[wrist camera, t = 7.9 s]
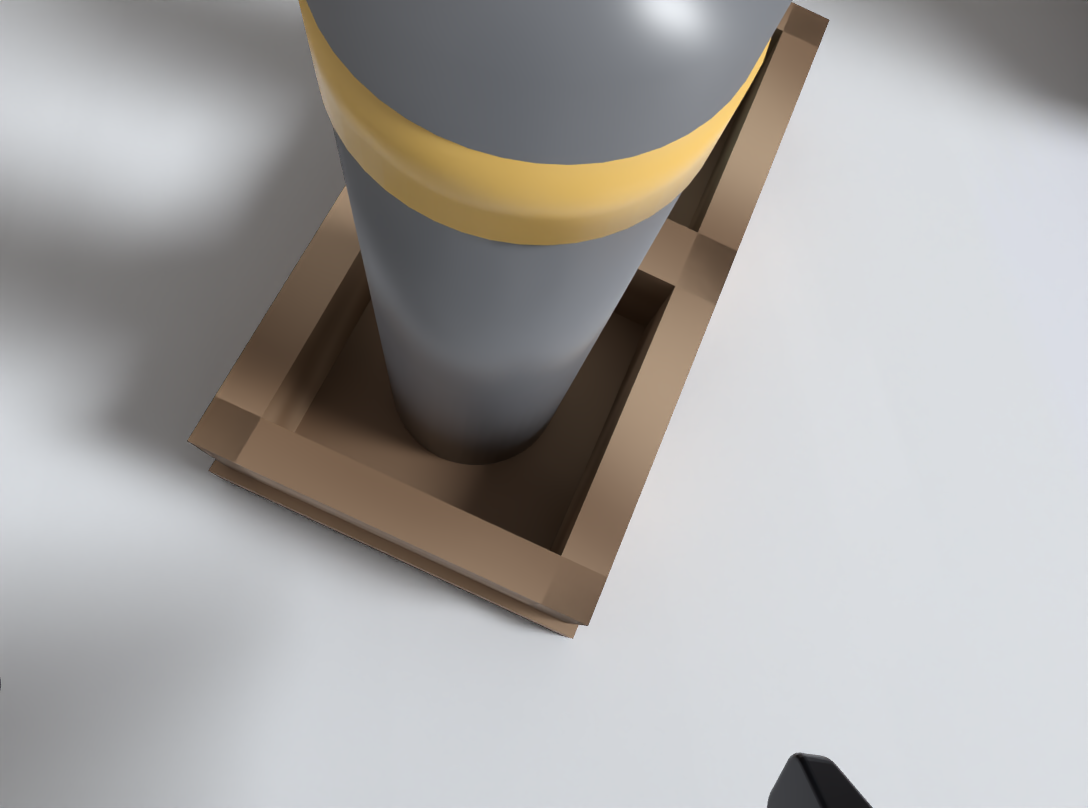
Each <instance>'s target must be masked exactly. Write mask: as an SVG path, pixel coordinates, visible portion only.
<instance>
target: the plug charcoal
mask: <svg viewBox="0 0 1088 808" xmlns="http://www.w3.org/2000/svg"><path fill="white" fill-rule="evenodd" d="M791 2H792V0H299V4H300V9H301V13H302V17H303V22H304V26H305V30H306V34H307V39H308V43H309V47H310V52H311V56H312V60H313V64H314V69H315V73H316V77H317V81H318V85H319V89H320V93H321V97H322V100H323V104H324V106H325V109H326V111H327V113H328V116H329V118H330V120H331V123H332V125H333V129H334V133H335V138H336V142H337V147H338V151H339V156H340V160H341V165H342V169H343V174H344V178H345V183H346V187H347V192H348V196H349V200H350V205H351V209H352V214H353V218H354V223H355V227H356V232H357V236H358V241H359V245H360V250H361V254H362V259H363V263H364V268H365V272H366V277H367V281H368V286H369V290H370V295H371V299H372V304H373V308H374V313H375V317H376V322H377V326H378V331H379V335H380V340H381V344H382V349H383V353H384V358H385V362H386V367H387V371H388V376H389V380H390V385H391V389H392V394H393V398H394V402H395V406H396V409H397V412H398V414H399V417H400V419H401V421H402V423H403V424H404V426H405V428H406V429H407V430H408V432H409V433H410V434H411V435H412V437H413V438H414V439H415V440H416V441H417V442H418V443H419V444H420V445H422V446H423V447H424V448H426V449H427V450H428V451H430V452H432V453H433V454H435V455H437V456H439V457H441V458H444V459H446V460H449V461H452V462H456V463H460V464H468V465H485V464H493V463H497V462H501V461H504V460H507V459H509V458H511V457H514V456H516V455H517V454H519V453H521V452H523V451H524V450H525V449H527V448H528V447H529V446H531V445H532V444H533V443H534V442H535V441H536V440H537V439H538V438H539V437H540V435H541V434H542V433H543V431H544V430H545V429H546V427H547V425H548V424H549V422H550V420H551V418H552V417H553V415H554V413H555V412H556V410H557V408H558V406H559V405H560V403H561V401H562V399H563V398H564V396H565V394H566V392H567V391H568V389H569V387H570V386H571V384H572V382H573V380H574V379H575V377H576V375H577V373H578V372H579V370H580V368H581V366H582V365H583V363H584V361H585V359H586V358H587V356H588V354H589V353H590V351H591V349H592V347H593V346H594V344H595V342H596V340H597V339H598V337H599V335H600V333H601V332H602V330H603V328H604V326H605V325H606V323H607V321H608V320H609V318H610V316H611V314H612V313H613V311H614V309H615V307H616V306H617V304H618V302H619V300H620V299H621V297H622V295H623V294H624V292H625V290H626V288H627V287H628V285H629V283H630V281H631V280H632V278H633V276H634V274H635V273H636V271H637V269H638V267H639V266H640V264H641V262H642V261H643V259H644V257H645V255H646V254H647V252H648V250H649V248H650V247H651V245H652V243H653V241H654V240H655V238H656V236H657V235H658V233H659V231H660V229H661V228H662V226H663V224H664V222H665V221H666V219H667V217H668V215H669V214H670V212H671V210H672V208H673V207H674V205H675V203H676V202H677V200H678V198H679V196H680V195H681V193H682V191H683V190H684V189H685V188H686V187H687V186H688V185H689V184H690V182H691V181H692V180H693V179H694V177H695V176H696V175H697V173H698V172H699V171H700V169H701V168H702V167H703V165H704V163H705V161H706V160H707V158H708V156H709V155H710V153H711V151H712V150H713V148H714V146H715V144H716V143H717V141H718V139H719V138H720V136H721V134H722V133H723V131H724V129H725V128H726V126H727V124H728V122H729V121H730V119H731V117H732V116H733V114H734V112H735V111H736V109H737V107H738V105H739V104H740V102H741V100H742V99H743V97H744V95H745V94H746V92H747V90H748V88H749V87H750V85H751V83H752V81H753V80H754V78H755V76H756V74H757V72H758V70H759V69H760V67H761V65H762V63H763V61H764V58H765V55H766V52H767V49H768V46H769V43H770V40H771V37H772V35H773V33H774V31H775V30H776V28H777V26H778V24H779V23H780V21H781V19H782V18H783V16H784V14H785V12H786V11H787V9H788V7H789V5H790V4H791Z"/></svg>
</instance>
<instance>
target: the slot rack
mask: <svg viewBox="0 0 1088 808" xmlns="http://www.w3.org/2000/svg"><path fill="white" fill-rule="evenodd" d="M828 22H829V19H827V18H824V17H822V16H820V15H818V14H816V13H814V12H812V11H809V10H807V9H805V8H803V7H801V6H799V5H797V4H794V3H792V2H791V4H790V5H789V7H788V9H787V11H786V12H785V14H784V16H783V18H782V19H781V21H780V23H779V24H778V26H777V28H776V30H775V31H774V33H773V35H772V37H771V40H770V43H769V46H768V49H767V52H766V55H765V58H764V61H763V63H762V65H761V67H760V69H759V70H758V72H757V74H756V76H755V78H754V80H753V81H752V83H751V85H750V87H749V88H748V90H747V92H746V94H745V95H744V97H743V99H742V100H741V102H740V104H739V105H738V107H737V109H736V111H735V112H734V114H733V116H732V117H731V119H730V121H729V122H728V124H727V126H726V128H725V129H724V131H723V133H722V134H721V136H720V138H719V139H718V141H717V143H716V144H715V146H714V148H713V150H712V151H711V153H710V155H709V156H708V158H707V160H706V161H705V163H704V165H703V167H702V168H701V169H700V171H699V172H698V173H697V175H696V176H695V177H694V179H693V180H692V181H691V182H690V184H689V185H688V186H687V187H686V188H685V189H684V190H683V191H682V193H681V195H680V196H679V198H678V200H677V202H676V203H675V205H674V207H673V208H672V210H671V212H670V214H669V215H668V217H667V219H666V221H665V222H664V224H663V226H662V228H661V229H660V231H659V233H658V235H657V236H656V238H655V240H654V241H653V243H652V245H651V247H650V248H649V250H648V252H647V254H646V255H645V257H644V259H643V261H642V262H641V264H640V266H639V267H638V269H637V271H636V273H635V274H634V276H633V278H632V280H631V281H630V283H629V285H628V287H627V288H626V290H625V292H624V294H623V295H622V297H621V299H620V300H619V302H618V304H617V306H616V307H615V309H614V311H613V313H612V314H611V316H610V318H609V320H608V321H607V323H606V325H605V326H604V328H603V330H602V332H601V333H600V335H599V337H598V339H597V340H596V342H595V344H594V346H593V347H592V349H591V351H590V353H589V354H588V356H587V358H586V359H585V361H584V363H583V365H582V366H581V368H580V370H579V372H578V373H577V375H576V377H575V379H574V380H573V382H572V384H571V386H570V387H569V389H568V391H567V392H566V394H565V396H564V398H563V399H562V401H561V403H560V405H559V406H558V408H557V410H556V412H555V413H554V415H553V417H552V418H551V420H550V422H549V424H548V425H547V427H546V429H545V430H544V431H543V433H542V434H541V435H540V437H539V438H538V439H537V440H536V441H535V442H534V443H533V444H532V445H531V446H529V447H528V448H527V449H525V450H524V451H523V452H521V453H519V454H517V455H516V456H514V457H511V458H509V459H507V460H504V461H501V462H497V463H493V464H485V465H468V464H460V463H456V462H452V461H449V460H446V459H444V458H441V457H439V456H437V455H435V454H433V453H432V452H430V451H428V450H427V449H426V448H424V447H423V446H422V445H420V444H419V443H418V442H417V441H416V440H415V439H414V438H413V437H412V435H411V434H410V433H409V432H408V430H407V429H406V428H405V426H404V424H403V423H402V421H401V419H400V417H399V414H398V412H397V409H396V406H395V402H394V398H393V394H392V389H391V385H390V380H389V376H388V371H387V367H386V362H385V358H384V353H383V349H382V344H381V340H380V335H379V331H378V326H377V322H376V317H375V313H374V308H373V304H372V299H371V295H370V290H369V286H368V281H367V277H366V272H365V268H364V263H363V259H362V254H361V250H360V245H359V241H358V236H357V232H356V227H355V223H354V218H353V214H352V209H351V205H350V200H349V196H348V192H347V187H346V185H345V187H344V188H343V190H342V192H341V193H340V195H339V197H338V198H337V200H336V201H335V203H334V205H333V206H332V208H331V209H330V211H329V213H328V214H327V216H326V218H325V219H324V221H323V222H322V224H321V226H320V227H319V229H318V230H317V232H316V234H315V235H314V237H313V239H312V240H311V242H310V243H309V245H308V247H307V248H306V250H305V251H304V253H303V255H302V256H301V258H300V260H299V261H298V263H297V264H296V266H295V268H294V269H293V271H292V272H291V274H290V276H289V277H288V279H287V281H286V282H285V284H284V285H283V287H282V289H281V290H280V292H279V293H278V295H277V297H276V298H275V300H274V302H273V303H272V305H271V306H270V308H269V310H268V311H267V313H266V314H265V316H264V318H263V319H262V321H261V323H260V324H259V326H258V327H257V329H256V331H255V332H254V334H253V335H252V337H251V339H250V340H249V342H248V343H247V345H246V347H245V348H244V350H243V352H242V353H241V355H240V356H239V358H238V360H237V361H236V363H235V364H234V366H233V368H232V369H231V371H230V373H229V374H228V376H227V377H226V379H225V381H224V382H223V384H222V385H221V387H220V389H219V390H218V392H217V394H216V395H215V397H214V398H213V400H212V402H211V403H210V405H209V406H208V408H207V410H206V411H205V413H204V415H203V416H202V418H201V419H200V421H199V423H198V424H197V426H196V427H195V429H194V431H193V432H192V434H191V436H190V437H189V439H188V440H187V441H188V442H190V443H191V444H193V445H194V446H196V447H197V448H199V449H200V450H202V451H204V452H205V453H207V454H208V455H210V456H211V457H213V458H214V459H215V461H214V462H213V464H212V466H211V467H210V469H209V471H210V472H212V473H214V474H215V475H217V476H219V477H220V478H222V479H224V480H227V481H229V482H231V483H233V484H235V485H237V486H240V487H242V488H244V489H246V490H248V491H250V492H253V493H255V494H257V495H259V496H261V497H263V498H266V499H268V500H270V501H272V502H274V503H276V504H279V505H281V506H283V507H285V508H287V509H289V510H292V511H294V512H296V513H298V514H300V515H302V516H305V517H307V518H309V519H311V520H313V521H315V522H318V523H320V524H322V525H324V526H326V527H328V528H331V529H333V530H335V531H337V532H339V533H341V534H344V535H346V536H348V537H350V538H352V539H355V540H357V541H359V542H361V543H363V544H365V545H368V546H370V547H372V548H374V549H376V550H378V551H381V552H383V553H385V554H387V555H389V556H391V557H394V558H396V559H398V560H400V561H402V562H404V563H407V564H409V565H411V566H413V567H415V568H417V569H420V570H422V571H424V572H426V573H428V574H430V575H433V576H435V577H437V578H439V579H441V580H443V581H446V582H448V583H450V584H452V585H454V586H456V587H459V588H461V589H463V590H465V591H467V592H469V593H472V594H474V595H476V596H478V597H480V598H482V599H485V600H487V601H489V602H491V603H493V604H495V605H498V606H500V607H502V608H504V609H506V610H508V611H511V612H513V613H515V614H517V615H519V616H521V617H524V618H526V619H528V620H530V621H532V622H534V623H537V624H539V625H541V626H543V627H545V628H547V629H550V630H552V631H554V632H556V633H558V634H560V635H563V636H565V637H568V638H572V639H573V637H574V635H575V632H576V630H577V627H578V625H586V626H588V625H589V622H590V619H591V617H592V614H593V612H594V609H595V607H596V604H597V602H598V599H599V597H600V594H601V592H602V589H603V587H604V584H605V582H606V579H607V577H608V574H609V572H610V569H611V567H612V564H613V562H614V559H615V557H616V554H617V552H618V549H619V547H620V544H621V542H622V539H623V537H624V534H625V532H626V529H627V527H628V524H629V522H630V519H631V517H632V514H633V512H634V509H635V507H636V504H637V502H638V499H639V496H640V494H641V491H642V489H643V486H644V484H645V481H646V479H647V476H648V474H649V471H650V469H651V466H652V464H653V461H654V459H655V456H656V454H657V451H658V449H659V446H660V444H661V441H662V439H663V436H664V434H665V431H666V429H667V426H668V424H669V421H670V419H671V416H672V414H673V411H674V409H675V406H676V404H677V401H678V399H679V396H680V394H681V391H682V389H683V386H684V384H685V381H686V379H687V376H688V373H689V371H690V368H691V366H692V363H693V361H694V358H695V356H696V353H697V351H698V348H699V346H700V343H701V341H702V338H703V336H704V333H705V331H706V328H707V326H708V323H709V321H710V318H711V316H712V313H713V311H714V308H715V306H716V303H717V301H718V298H719V296H720V293H721V291H722V288H723V286H724V283H725V281H726V278H727V276H728V273H729V271H730V268H731V266H732V263H733V261H734V258H735V256H736V253H737V250H738V248H739V245H740V243H741V240H742V238H743V235H744V233H745V230H746V228H747V225H748V223H749V220H750V218H751V215H752V213H753V210H754V208H755V205H756V203H757V200H758V198H759V195H760V193H761V190H762V188H763V185H764V183H765V180H766V178H767V175H768V173H769V170H770V168H771V165H772V163H773V160H774V158H775V155H776V153H777V150H778V148H779V145H780V143H781V140H782V138H783V135H784V133H785V130H786V127H787V125H788V122H789V120H790V117H791V115H792V112H793V110H794V107H795V105H796V102H797V100H798V97H799V95H800V92H801V90H802V87H803V85H804V82H805V80H806V77H807V75H808V72H809V70H810V67H811V65H812V62H813V60H814V57H815V55H816V52H817V50H818V47H819V45H820V42H821V40H822V37H823V35H824V32H825V30H826V27H827V25H828Z"/></svg>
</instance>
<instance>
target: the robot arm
mask: <svg viewBox="0 0 1088 808" xmlns="http://www.w3.org/2000/svg"><path fill="white" fill-rule="evenodd" d="M0 688H1V679H0ZM767 808H872V806H871V805H870V804H869V803H868V802H867V801H866V799H865V798H864V797H863V796H862V795H861V793H860V792H859V791H858V790H857V789H856V788H855V786H854V785H853V784H852V783H851V782H850V781H849V779H848V778H847V777H846V776H845V775H844V773H843V772H842V771H841V770H840V769H839V768H838V766H837V765H836V764H835V763H834V762H833V761H831V760H830V759H829V758H827V757H824V756H819V755H813V754H806V753H795V754H793V755H792V756H790V758H789V759H788V761H787V763H786V765H785V767H784V769H783V770H782V772H781V774H780V776H779V778H778V780H777V781H776V783H775V785H774V787H773V789H772V791H771V793H770V795H769V799H768V804H767Z"/></svg>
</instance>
